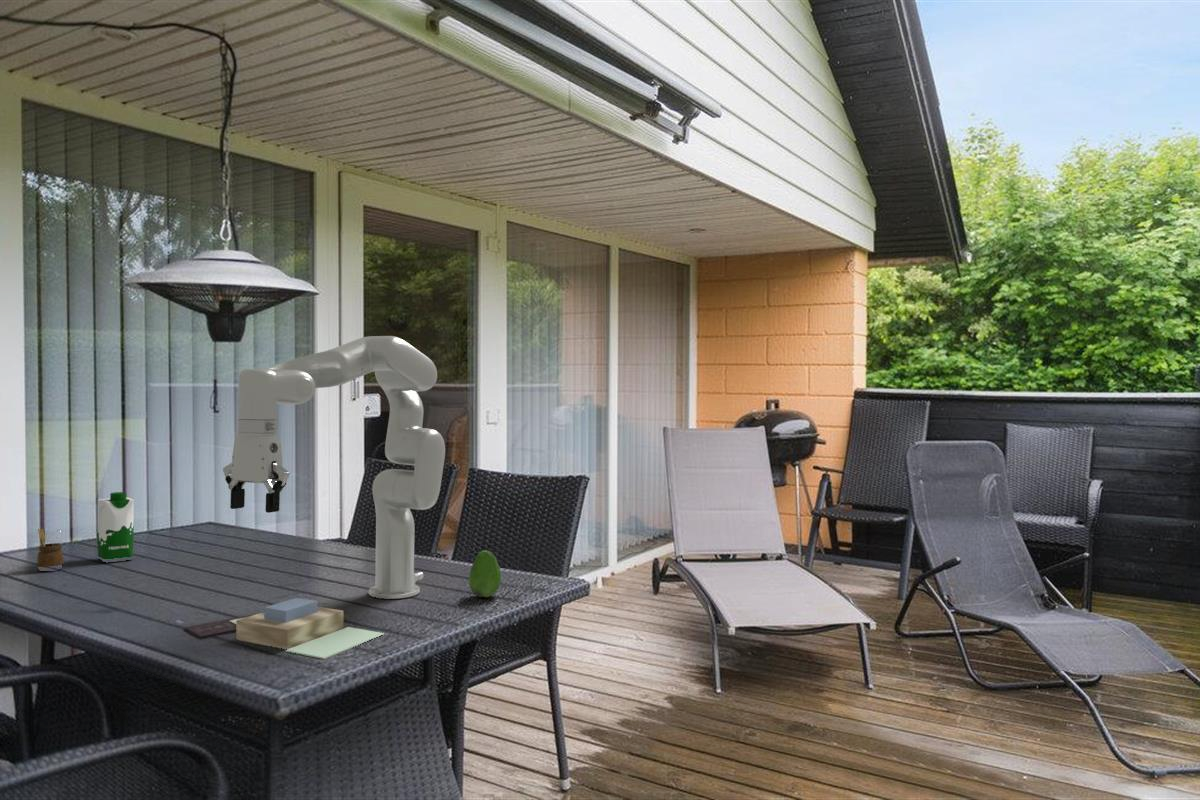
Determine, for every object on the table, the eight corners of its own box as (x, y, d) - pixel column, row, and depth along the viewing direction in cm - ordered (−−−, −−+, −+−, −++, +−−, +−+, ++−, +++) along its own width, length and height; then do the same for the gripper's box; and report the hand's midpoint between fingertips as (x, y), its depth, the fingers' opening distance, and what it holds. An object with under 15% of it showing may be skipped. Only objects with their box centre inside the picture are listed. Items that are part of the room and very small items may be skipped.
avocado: (487, 602, 205) (487, 554, 205) (462, 598, 209) (463, 550, 209) (507, 596, 212) (507, 549, 212) (482, 591, 216) (483, 545, 216)
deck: (294, 620, 187) (294, 602, 186) (343, 629, 181) (343, 610, 181) (236, 639, 172) (236, 620, 172) (287, 649, 166) (287, 629, 166)
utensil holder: (68, 568, 232) (68, 525, 232) (48, 573, 226) (48, 529, 226) (51, 567, 234) (51, 524, 234) (30, 572, 228) (31, 528, 227)
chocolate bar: (184, 627, 178) (266, 611, 191) (184, 631, 178) (266, 615, 191) (201, 636, 172) (284, 619, 185) (201, 641, 172) (284, 624, 185)
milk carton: (103, 564, 238) (103, 495, 238) (93, 559, 244) (94, 491, 244) (136, 560, 244) (137, 492, 244) (126, 555, 251) (127, 489, 250)
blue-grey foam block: (296, 608, 182) (296, 597, 182) (317, 612, 179) (317, 601, 179) (264, 618, 173) (264, 607, 173) (285, 622, 171) (286, 611, 171)
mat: (348, 628, 181) (348, 626, 181) (385, 634, 177) (385, 633, 177) (285, 651, 165) (285, 650, 165) (324, 659, 161) (324, 657, 161)
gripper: (301, 429, 174) (299, 511, 174) (240, 426, 181) (238, 505, 181) (274, 430, 167) (272, 515, 167) (211, 426, 174) (209, 508, 174)
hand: (254, 510), depth 174 cm, fingers open, 9 cm apart
